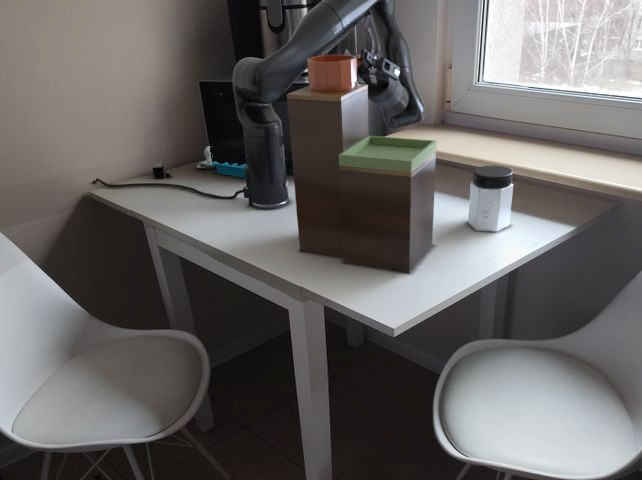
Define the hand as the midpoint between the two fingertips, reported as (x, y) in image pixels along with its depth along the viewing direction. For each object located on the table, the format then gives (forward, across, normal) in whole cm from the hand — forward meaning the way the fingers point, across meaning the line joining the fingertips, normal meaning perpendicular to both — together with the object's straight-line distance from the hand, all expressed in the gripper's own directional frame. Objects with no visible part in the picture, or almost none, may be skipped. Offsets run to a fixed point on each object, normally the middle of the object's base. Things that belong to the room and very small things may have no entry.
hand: (352, 54), depth 122 cm
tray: (+3, +12, +20) cm, 24 cm away
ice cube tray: (-41, -46, +17) cm, 64 cm away
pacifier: (-42, -61, +17) cm, 76 cm away
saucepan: (+2, 0, +6) cm, 7 cm away
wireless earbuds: (-32, -69, +23) cm, 79 cm away
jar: (-26, +28, +26) cm, 46 cm away
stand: (-7, +7, +37) cm, 38 cm away
